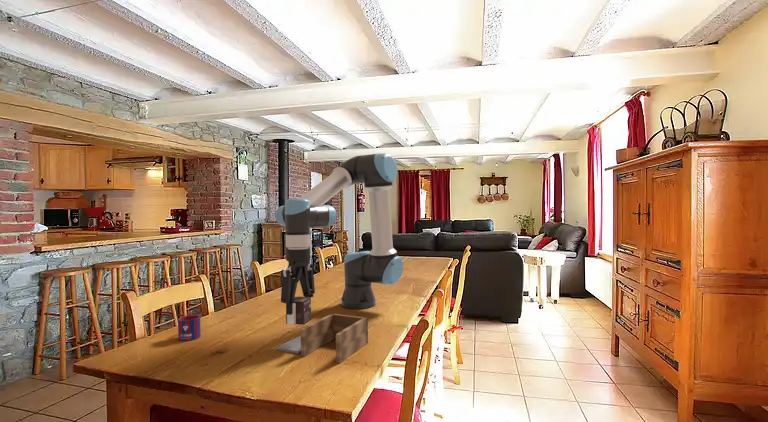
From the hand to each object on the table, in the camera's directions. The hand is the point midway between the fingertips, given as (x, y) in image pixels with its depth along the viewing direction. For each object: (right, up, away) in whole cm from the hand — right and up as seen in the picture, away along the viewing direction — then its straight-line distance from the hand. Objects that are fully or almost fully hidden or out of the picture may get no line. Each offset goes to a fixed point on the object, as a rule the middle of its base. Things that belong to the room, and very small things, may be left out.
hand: (299, 320), depth 121 cm
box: (0, -1, 0) cm, 1 cm away
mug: (-39, -8, +11) cm, 41 cm away
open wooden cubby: (+12, -8, -4) cm, 15 cm away
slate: (0, -8, 0) cm, 8 cm away
